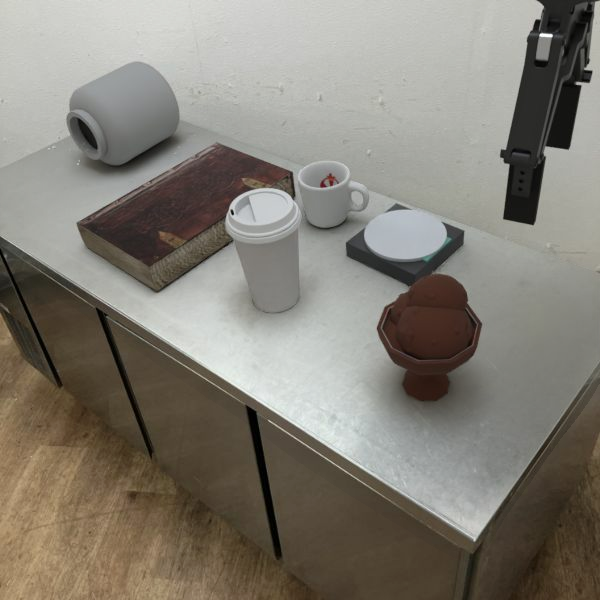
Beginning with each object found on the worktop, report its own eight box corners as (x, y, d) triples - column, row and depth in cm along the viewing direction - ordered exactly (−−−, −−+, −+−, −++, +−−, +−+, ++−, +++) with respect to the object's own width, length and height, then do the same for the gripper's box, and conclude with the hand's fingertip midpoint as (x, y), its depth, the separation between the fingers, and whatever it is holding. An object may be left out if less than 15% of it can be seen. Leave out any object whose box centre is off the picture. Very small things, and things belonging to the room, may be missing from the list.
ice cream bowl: (375, 351, 80) (373, 256, 70) (467, 347, 79) (479, 251, 69) (380, 421, 72) (378, 326, 62) (482, 418, 71) (497, 321, 61)
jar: (205, 128, 117) (76, 168, 103) (181, 167, 129) (63, 207, 116) (154, 40, 118) (20, 68, 104) (136, 87, 130) (13, 117, 117)
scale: (463, 243, 93) (465, 227, 91) (414, 288, 87) (415, 271, 85) (396, 215, 100) (396, 199, 98) (346, 255, 94) (345, 239, 92)
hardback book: (220, 164, 116) (215, 139, 113) (296, 198, 106) (292, 171, 103) (84, 245, 102) (74, 220, 99) (157, 293, 92) (148, 266, 88)
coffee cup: (250, 272, 93) (232, 184, 83) (315, 274, 91) (305, 184, 81) (234, 319, 86) (213, 229, 76) (305, 322, 85) (292, 230, 74)
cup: (376, 209, 102) (375, 164, 96) (362, 239, 96) (360, 194, 91) (311, 201, 105) (307, 157, 100) (294, 230, 100) (289, 185, 94)
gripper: (563, -107, 57) (532, 115, 71) (473, -11, 42) (457, 247, 56) (657, -108, 54) (605, 125, 68) (597, -5, 39) (546, 267, 53)
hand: (538, 181), depth 62 cm, fingers open, 13 cm apart
